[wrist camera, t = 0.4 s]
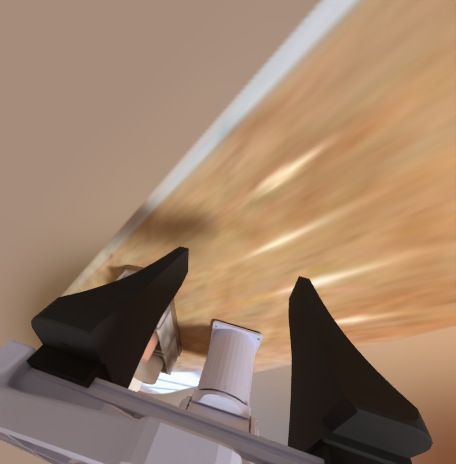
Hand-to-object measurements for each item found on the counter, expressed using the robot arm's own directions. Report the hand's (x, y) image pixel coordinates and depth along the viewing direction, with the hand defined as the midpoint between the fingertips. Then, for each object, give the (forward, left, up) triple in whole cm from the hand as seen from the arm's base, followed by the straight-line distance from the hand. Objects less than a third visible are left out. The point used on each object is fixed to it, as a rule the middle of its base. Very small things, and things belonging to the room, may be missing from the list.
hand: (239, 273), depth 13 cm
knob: (-30, +12, -7) cm, 33 cm away
